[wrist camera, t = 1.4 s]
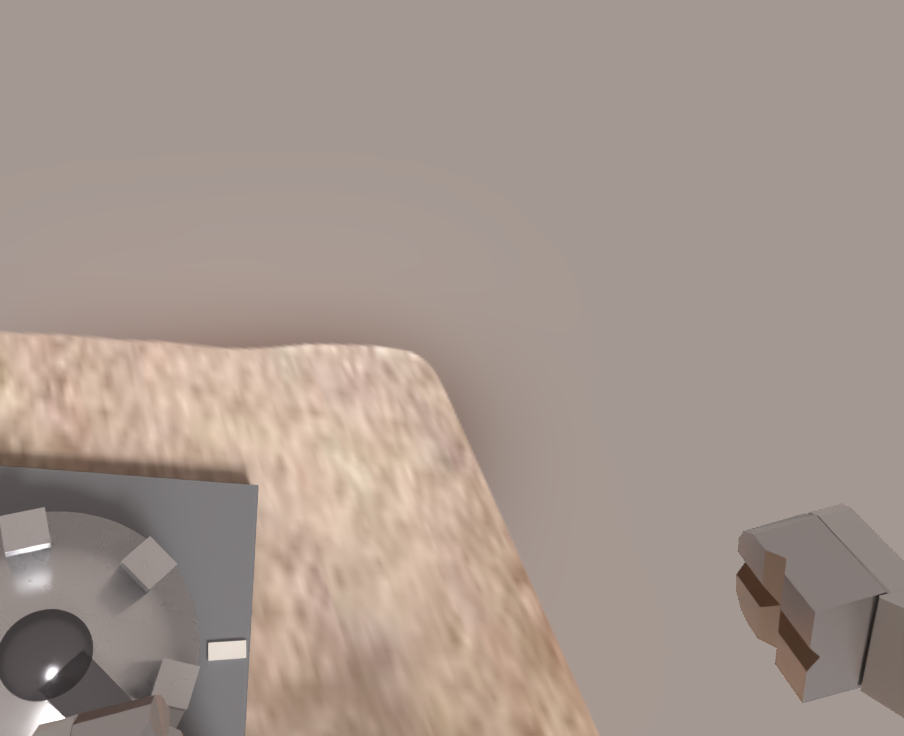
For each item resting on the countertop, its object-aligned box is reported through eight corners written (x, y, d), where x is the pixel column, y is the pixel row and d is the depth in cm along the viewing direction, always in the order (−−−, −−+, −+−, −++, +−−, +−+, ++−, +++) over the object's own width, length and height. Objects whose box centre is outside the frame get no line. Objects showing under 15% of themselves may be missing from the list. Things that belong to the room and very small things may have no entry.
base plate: (231, 873, 42) (237, 877, 41) (-258, 922, 34) (-271, 928, 33) (253, 492, 50) (259, 484, 49) (-135, 464, 43) (-142, 453, 41)
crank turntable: (-198, 672, 37) (-319, 621, 25) (68, 471, 45) (74, 359, 33) (104, 985, 37) (130, 1086, 25) (318, 728, 45) (417, 709, 33)
